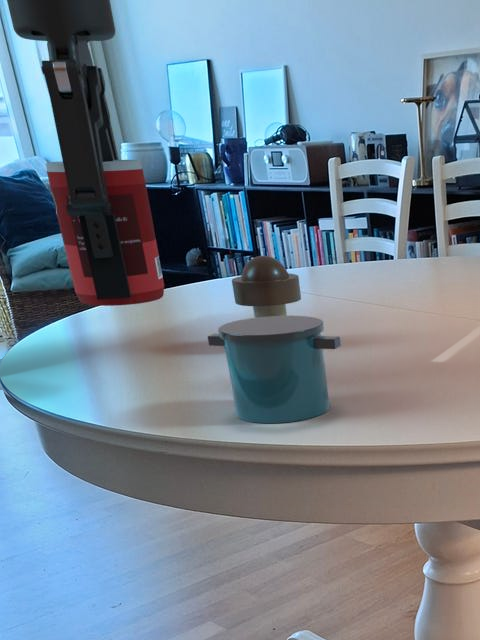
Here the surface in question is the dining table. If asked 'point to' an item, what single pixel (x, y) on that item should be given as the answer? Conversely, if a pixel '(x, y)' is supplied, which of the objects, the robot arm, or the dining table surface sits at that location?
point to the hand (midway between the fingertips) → (120, 290)
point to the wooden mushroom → (266, 287)
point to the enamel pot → (276, 367)
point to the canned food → (132, 229)
